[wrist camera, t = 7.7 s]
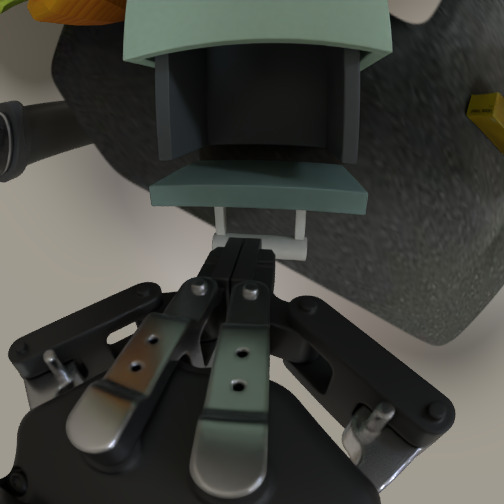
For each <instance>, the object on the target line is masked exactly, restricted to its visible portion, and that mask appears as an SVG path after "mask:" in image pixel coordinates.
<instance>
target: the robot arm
mask: <svg viewBox="0 0 504 504" xmlns="http://www.w3.org/2000/svg"><path fill="white" fill-rule="evenodd" d="M13 152H14V135H13V128H12V124H11V121H10V119H9V117H8V115H7V114H6V113H4V112H0V175H3V174H5V173H6V172H7V171H8V169H9V168H10V165H11V162H12V158H13ZM275 258H276V255H275V254H274V252H273V251H272V249H262V240H261V239H260V238H239V237H229V238H228V240H227V242H226V245H225V247H216V248H215V249H213V250H212V251H211V252H210V253H209V256H208V257H207V259H206V261H205V264H203V266H202V268H201V270H200V272H199V274H198V276H197V277H195V278H191V279H189V280H187V281H186V282H185V283H183V285H182V286H181V287H180V289H179V290H178V291H177V292H169V293H162V292H161V288H160V286H159V285H158V284H156V283H152V282H144V283H140V284H137V285H135V286H132V287H130V288H128V289H126V290H123V291H121V292H119V293H117V294H114V295H112V296H110V297H108V298H106V299H103V300H101V301H99V302H97V303H94V304H92V305H90V306H88V307H86V308H83V309H81V310H79V311H77V312H75V313H72V314H70V315H68V316H66V317H64V318H61V319H59V320H57V321H55V322H53V323H51V324H49V325H46V326H44V327H42V328H40V329H38V330H36V331H34V332H31V333H29V334H27V335H25V336H23V337H21V338H19V339H17V340H16V341H15V342H14V343H13V344H12V345H11V347H10V349H9V352H8V357H9V359H10V361H11V362H12V364H13V365H14V366H15V368H16V369H17V370H18V372H19V373H20V375H21V377H22V378H23V379H24V383H25V388H26V392H27V397H28V402H29V406H30V411H29V412H28V413H27V414H26V415H25V417H24V418H23V419H22V421H21V423H20V426H19V429H18V433H17V449H16V456H15V461H14V465H13V468H12V470H11V472H10V473H9V474H8V475H7V476H6V477H4V478H2V479H0V504H381V501H380V496H379V493H380V492H381V491H382V490H383V489H384V488H385V487H386V486H388V485H389V484H390V483H391V482H392V481H393V480H394V479H395V478H396V477H397V476H398V475H399V474H400V473H401V472H402V471H403V470H404V469H405V468H406V467H407V466H408V465H409V464H410V463H411V461H412V460H413V459H414V458H415V457H416V456H418V455H419V454H421V453H422V452H423V451H424V450H426V449H427V448H428V447H429V446H430V445H432V444H433V443H434V442H435V441H436V440H438V439H439V438H440V437H441V436H442V435H443V434H444V433H445V432H447V431H448V430H449V429H450V428H451V426H452V425H453V423H454V420H455V409H454V406H453V404H452V402H451V401H450V400H449V399H448V398H447V397H446V396H445V395H444V394H442V393H441V392H440V391H438V390H437V389H436V388H435V387H433V386H432V385H431V384H429V383H428V382H427V381H426V380H424V379H423V378H422V377H420V376H419V375H418V374H417V373H416V372H414V371H413V370H412V369H410V368H409V367H408V366H407V365H405V364H404V363H403V362H402V361H400V360H399V359H397V358H396V357H395V356H394V355H393V354H391V353H390V352H389V351H387V350H386V349H385V348H383V347H382V346H381V345H380V344H378V343H377V342H376V341H375V340H373V339H372V338H371V337H369V336H368V335H367V334H366V333H364V332H363V331H362V330H360V329H359V328H358V327H357V326H355V325H354V324H353V323H351V322H350V321H349V320H348V319H346V318H345V317H344V316H342V315H341V314H340V313H338V312H337V311H336V310H335V309H333V308H332V307H331V306H330V305H328V304H327V303H326V302H324V301H323V300H321V299H319V298H317V297H314V296H299V297H296V298H294V299H293V300H292V301H291V302H286V301H283V300H281V299H279V298H278V297H276V296H275V295H274V294H273V291H274V282H275ZM133 322H136V325H137V328H138V329H137V330H136V331H135V333H134V334H132V335H130V336H128V337H126V338H124V339H122V340H120V341H118V342H116V343H114V344H107V337H108V336H109V334H110V333H112V332H114V331H116V330H118V329H121V328H123V327H125V326H127V325H129V324H131V323H133ZM270 355H273V356H276V357H279V358H282V359H283V363H284V365H285V366H286V368H287V369H288V370H289V371H290V372H291V373H292V374H293V375H294V376H295V377H296V378H297V380H298V381H300V383H301V384H302V385H303V386H304V387H305V388H306V389H307V390H308V391H309V392H310V393H311V395H312V396H313V397H314V398H315V399H316V400H317V401H318V402H319V403H320V404H321V405H322V406H323V407H324V408H325V409H326V410H327V411H328V412H329V413H330V414H331V415H332V416H333V417H334V418H335V419H336V420H337V421H338V422H339V423H340V424H341V425H342V426H343V427H344V428H345V430H344V432H343V434H342V444H343V446H344V448H345V450H346V451H347V452H348V454H349V456H350V458H348V457H347V455H346V454H345V453H344V452H343V451H342V450H341V449H340V448H339V446H338V445H337V444H336V443H335V442H334V441H333V440H332V439H331V437H330V436H329V435H328V434H327V433H326V432H325V431H324V429H323V428H322V427H321V426H320V425H319V424H318V423H317V421H316V420H315V419H314V418H313V417H312V416H311V414H310V413H309V412H308V411H307V410H306V408H305V407H304V406H303V405H302V404H301V402H300V401H299V400H298V399H297V398H296V397H295V396H294V395H293V394H292V393H291V392H290V391H289V390H287V389H286V388H284V387H283V386H281V385H279V384H278V383H275V382H273V381H271V380H269V367H270Z"/></svg>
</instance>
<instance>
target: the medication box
mask: <svg viewBox="0 0 504 504" xmlns="http://www.w3.org/2000/svg"><path fill="white" fill-rule="evenodd" d="M471 95H472V96H471V99H470V102H469V106H468V110H467V115H466V116H467V117H468V118H469V119H470V120H471V121H472V122H473V123H474V124H475V125H476V126H477V127H478V128H479V129H480V130H481V131H482V132H483V133H484V134H485V135H486V136H487V137H488V138H489V140H490V141H491V142H492V143H493V144H494V145H495V146H496V147H497V149H498V150H499V151H500V152H501V153H502V154H503V156H504V97H503V96H502V95H501V94H500V93H499V92H496V93H483V94H478V95H475V94H471Z"/></svg>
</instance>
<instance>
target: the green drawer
mask: <svg viewBox="0 0 504 504" xmlns="http://www.w3.org/2000/svg"><path fill="white" fill-rule="evenodd" d="M155 102H156V124H157V140H158V153H159V161H166V160H173V159H176V158H178V157H180V156H183V155H185V154H188V153H190V152H192V151H195V150H197V149H200V148H202V147H205V146H208V145H289V146H308V147H322V148H327V149H328V150H329V151H330V152H331V153H332V154H333V155H334V156H335V157H337V158H338V159H339V160H340V161H341V162H342V163H347V164H356V163H357V154H358V139H359V117H360V53H359V50H357V49H351V48H343V47H335V46H326V45H314V44H298V43H250V44H233V45H222V46H212V47H204V48H197V49H190V50H184V51H178V52H173V53H168V54H163V55H158V56H155ZM149 190H150V198H151V205H152V206H206V207H214V208H215V224H216V233H215V234H214V236H213V241H212V250H213V249H215V248H216V247H225V245H226V242H227V240H228V238H229V237H239V238H260V239H261V240H262V249H272V251H273V252H274V254H275V255H276V258H275V259H287V260H303V261H305V260H306V254H307V238H306V237H304V235H305V222H306V211H321V212H335V213H348V214H360V215H365V213H366V206H367V199H368V193H367V191H366V190H365V189H364V188H363V187H362V186H361V185H360V184H359V183H358V181H357V180H356V179H355V178H354V177H353V176H352V175H351V174H350V173H349V172H348V171H347V170H346V169H345V168H344V166H343V165H337V164H326V163H312V162H296V161H272V160H201V161H194V162H192V163H190V164H188V165H187V166H185V167H183V168H181V169H179V170H177V171H175V172H173V173H172V174H170V175H168V176H166V177H164V178H163V179H161V180H159V181H157V182H156V183H154V184H152V185H150V186H149ZM226 207H244V208H269V209H289V210H296V220H295V237H293V236H276V235H257V234H237V233H226V232H227V226H226Z"/></svg>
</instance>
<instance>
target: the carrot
mask: <svg viewBox="0 0 504 504" xmlns="http://www.w3.org/2000/svg"><path fill="white" fill-rule="evenodd" d="M24 1H27V0H0V14H1V13H3V12H4V11H6V10H8V9H9V8H11V7H13V6H15V5H17V4H20V3H22V2H24ZM126 3H127V0H29V2H28V5H27V7H28V10H29V12H30V14H31V15H32V17H33V19H35V20H37V21H40V22H51V23H58V24H69V25H104V24H110V23H116V22H121V21H124V20H125V13H126Z"/></svg>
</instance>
